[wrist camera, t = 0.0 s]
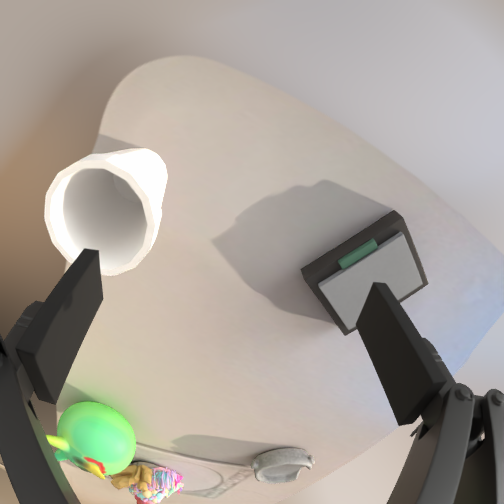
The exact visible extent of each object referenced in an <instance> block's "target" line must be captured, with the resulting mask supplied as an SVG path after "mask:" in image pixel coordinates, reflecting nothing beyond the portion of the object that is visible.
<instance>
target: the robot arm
mask: <svg viewBox="0 0 504 504" xmlns="http://www.w3.org/2000/svg"><path fill="white" fill-rule="evenodd" d="M102 301H103V291H102V281H101V271H100V259H99V250H94V249H86V248H84V249H83V251H82V252H81V253H80V254H79V256H78V257H77V258H76V260H75V261H74V262H73V263H72V265H71V266H70V267H69V269H68V270H67V271H66V273H65V274H64V275H63V277H62V278H61V279H60V281H59V282H58V284H57V285H56V286H55V288H54V289H53V291H52V292H51V293H50V295H49V296H48V298H47V299H46V301H45V302H39V301H35V302H34V303H32V304H31V305H29V306H28V307H27V308H26V309H25V310H24V312H23V313H22V315H21V317H20V318H19V319H18V320H17V322H16V325H14V327H13V328H12V329H11V331H10V332H9V334H8V335H7V337H6V339H5V340H4V341H3V339H2V337H1V335H0V454H1V457H2V460H3V463H4V466H5V469H6V471H7V474H8V477H9V479H10V482H11V484H12V487H13V489H14V491H15V493H16V496H17V498H18V501H19V503H20V504H81V503H80V502H79V500H78V498H77V496H76V495H75V493H74V491H73V489H72V488H71V486H70V484H69V482H68V480H67V478H66V477H65V475H64V473H63V471H62V469H61V467H60V465H59V463H58V461H57V459H56V457H55V455H54V453H53V450H52V448H51V446H50V444H49V442H48V439H47V437H46V435H45V432H44V430H43V428H42V425H41V423H40V420H39V418H38V415H37V413H36V410H35V407H34V405H33V402H32V400H31V395H32V393H33V391H35V393H36V395H37V397H38V399H39V400H42V401H45V402H49V403H52V404H55V405H56V403H57V400H58V398H59V395H60V393H61V390H62V388H63V385H64V383H65V380H66V378H67V376H68V373H69V371H70V369H71V366H72V364H73V362H74V359H75V357H76V355H77V353H78V351H79V348H80V346H81V344H82V342H83V340H84V337H85V335H86V333H87V331H88V329H89V327H90V325H91V323H92V321H93V319H94V317H95V315H96V313H97V311H98V309H99V307H100V305H101V303H102ZM355 325H356V327H357V329H358V331H359V334H360V336H361V338H362V340H363V342H364V345H365V347H366V349H367V351H368V354H369V356H370V358H371V360H372V363H373V365H374V367H375V370H376V372H377V374H378V377H379V379H380V381H381V384H382V386H383V388H384V391H385V393H386V396H387V398H388V400H389V403H390V405H391V408H392V410H393V413H394V415H395V418H396V420H397V423H398V425H399V426H401V425H406V424H412V423H413V422H415V421H416V419H417V418H418V417H419V416H420V415H421V417H422V419H423V421H422V422H421V424H420V425H419V426H418V427H417V428H416V429H415V430H414V431H413V432H412V434H411V435H410V436H411V437H412V436H413V435H414V434H415V433H417V434H416V436H415V439H414V441H413V444H412V447H411V450H410V452H409V455H408V457H407V459H406V462H405V465H404V467H403V469H402V471H401V474H400V476H399V478H398V481H397V483H396V485H395V487H394V490H393V491H392V494H391V496H390V498H389V500H388V502H387V504H504V394H503V393H502V392H501V391H499V390H497V389H491V390H489V391H488V392H487V393H486V395H485V396H484V397H483V396H476V395H474V394H473V392H472V391H471V390H470V388H468V387H467V386H466V385H463V384H461V383H456V382H455V381H454V379H453V377H452V375H451V374H450V372H449V370H448V369H447V367H446V365H445V364H444V362H443V361H442V359H441V357H440V356H439V355H438V352H437V351H436V349H435V348H434V346H433V345H432V344H431V343H430V342H429V341H428V340H427V339H426V338H422V337H421V336H420V334H419V332H418V331H417V329H416V328H415V326H414V325H413V323H412V321H411V320H410V318H409V317H408V315H407V314H406V312H405V311H404V309H403V308H402V306H401V305H400V303H399V302H398V300H397V299H396V297H395V296H394V294H393V293H392V291H391V290H390V288H389V287H388V285H387V284H386V283H381V282H373V284H372V286H371V289H370V291H369V294H368V296H367V298H366V301H365V303H364V306H363V308H362V310H361V313H360V315H359V317H358V320H357V322H356V324H355ZM483 433H484V434H485V438H484V439H483V440H481V435H482V434H483Z"/></svg>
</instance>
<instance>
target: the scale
mask: <svg viewBox="0 0 504 504" xmlns="http://www.w3.org/2000/svg"><path fill="white" fill-rule="evenodd" d="M301 271H302V274H303V277H304V279H305V281H306V282H307V284H308V285H309V287H310V288H311V289H312V291H313V292H314V293H315V295H316V296H317V298H318V299H319V300H320V302H321V303H322V305H323V306H324V307H325V309H326V310H327V311H328V313H329V314H330V316H331V317H332V318H333V320H334V321H335V323H336V324H337V326H338V327H339V328H340V330H341V331H342V333H343V334H344V335H345V336H346V335H348V334H349V333H351V332H353V331H354V330H356V329H357V327H356V325H355V324H356V322H357V320H358V317H359V315H360V313H361V310H362V308H363V306H364V303H365V301H366V298H367V296H368V294H369V291H370V289H371V286H372V284H373V282H381V283H386V284H387V285H388V287H389V288H390V290H391V291H392V293H393V294H394V296H395V297H396V299H397V300H398V302H399V303H400V302H402V301H404V300H405V299H407V298H408V297H410V296H411V295H413V294H414V293H416V292H417V291H419V290H420V289H422V288H423V287H425V286H426V285H428V281H427V278H426V275H425V272H424V270H423V267H422V264H421V261H420V259H419V256H418V253H417V251H416V248H415V246H414V243H413V240H412V238H411V235H410V233H409V231H408V228H407V226H406V223H405V221H404V219H403V217H402V216H401V215H400V214H398V213H397V212H396V211H395V210H394V211H392V212H391V213H389V214H388V215H386V216H385V217H383V218H381V219H380V220H378V221H377V222H375V223H374V224H372V225H371V226H369V227H368V228H366V229H364V230H363V231H361V232H360V233H358V234H357V235H355V236H354V237H352V238H350V239H349V240H347V241H346V242H344V243H342V244H341V245H339V246H338V247H336V248H335V249H333V250H331V251H330V252H328V253H327V254H325V255H323V256H322V257H320V258H318V259H317V260H315V261H314V262H312V263H310V264H309V265H307V266H306V267H304V268H302V269H301Z"/></svg>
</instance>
